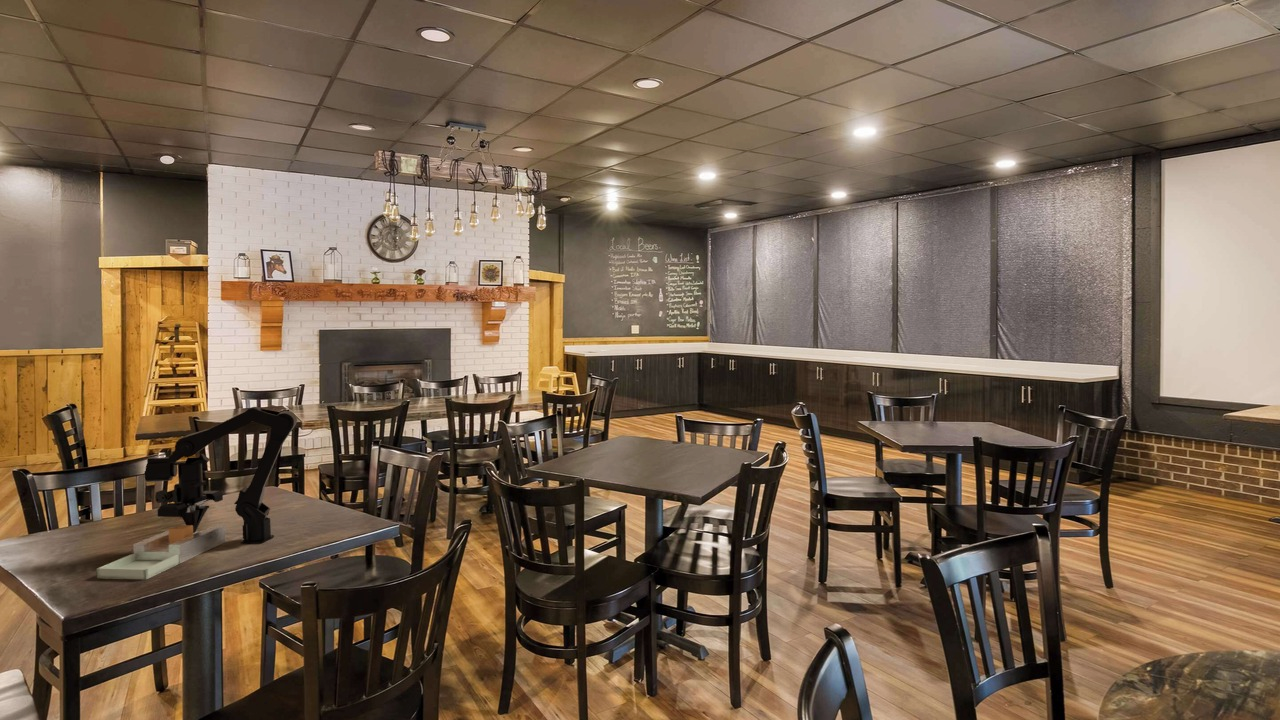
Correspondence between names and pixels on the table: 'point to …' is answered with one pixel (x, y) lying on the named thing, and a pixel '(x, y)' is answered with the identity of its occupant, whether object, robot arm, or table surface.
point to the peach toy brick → (180, 532)
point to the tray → (135, 568)
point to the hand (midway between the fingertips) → (192, 532)
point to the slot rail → (179, 545)
